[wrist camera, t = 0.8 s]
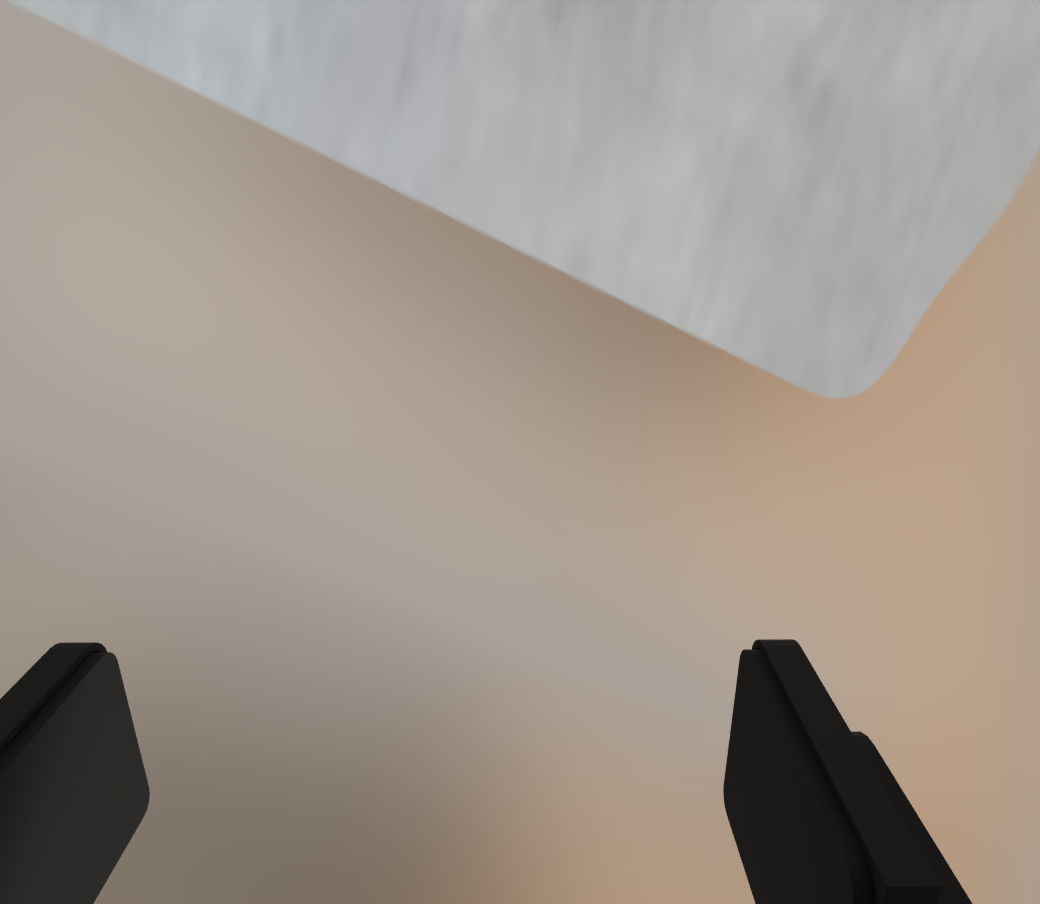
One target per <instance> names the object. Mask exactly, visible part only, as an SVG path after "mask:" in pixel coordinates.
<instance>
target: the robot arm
mask: <svg viewBox="0 0 1040 904" xmlns="http://www.w3.org/2000/svg"><path fill="white" fill-rule="evenodd" d="M149 793H150V792H149V786H148V782H147V777H146V774H145V769H144V765H143V762H142V757H141V753H140V750H139V745H138V741H137V738H136V733H135V729H134V725H133V721H132V717H131V713H130V709H129V705H128V701H127V697H126V693H125V689H124V685H123V681H122V677H121V673H120V669H119V664H118V661H117V658H116V656H115V655H114V654H113V653H110V652H107V651H106V648H105V647H104V646H103V645H102V644H100V643H59V644H55V645H54V646H53V647H51V648H50V649H49V650H48V651H47V652H46V653H45V654H44V655H43V656H42V657H41V658H40V659H39V660H38V661H37V662H36V663H35V664H34V665H33V666H32V668H30V670H28V671H27V673H26V674H25V675H24V676H23V677H22V678H21V679H20V680H19V681H18V682H17V683H16V684H15V685H14V686H13V687H12V688H11V689H10V690H9V691H8V692H7V693H6V694H5V695H4V696H3V697H2V698H1V699H0V904H93V903H94V902H95V900H96V898H97V896H98V895H99V893H100V891H101V890H102V888H103V886H104V884H105V883H106V881H107V879H108V877H109V875H110V874H111V872H112V871H113V869H114V867H115V865H116V864H117V862H118V860H119V859H120V857H121V855H122V853H123V852H124V850H125V848H126V846H127V845H128V843H129V841H130V840H131V838H132V836H133V834H134V833H135V831H136V829H137V828H138V826H139V824H140V822H141V821H142V819H143V817H144V815H145V813H146V810H147V807H148V803H149ZM724 803H725V809H726V813H727V816H728V820H729V822H730V826H731V829H732V832H733V835H734V838H735V841H736V844H737V847H738V851H739V854H740V857H741V860H742V863H743V866H744V869H745V872H746V875H747V878H748V881H749V884H750V888H751V891H752V894H753V897H754V900H755V903H756V904H972V902H971V901H970V899H969V898H968V896H967V895H966V893H965V891H964V890H963V888H962V886H961V885H960V883H959V881H958V880H957V878H956V877H955V875H954V873H953V872H952V870H951V868H950V867H949V865H948V864H947V862H946V860H945V859H944V857H943V856H942V854H941V852H940V851H939V849H938V848H937V846H936V844H935V843H934V841H933V839H932V838H931V836H930V834H929V833H928V831H927V830H926V828H925V826H924V825H923V823H922V822H921V820H920V818H919V817H918V815H917V813H916V812H915V810H914V809H913V807H912V805H911V804H910V802H909V801H908V799H907V797H906V796H905V794H904V792H903V791H902V789H901V788H900V786H899V784H898V783H897V781H896V779H895V778H894V776H893V775H892V773H891V771H890V770H889V768H888V766H887V765H886V763H885V762H884V760H883V758H882V757H881V755H880V754H879V752H878V750H877V749H876V747H875V746H874V744H873V743H872V742H871V740H870V739H869V738H868V736H866V735H865V734H863V733H862V732H851V731H850V730H849V728H848V726H847V724H846V723H845V721H844V719H843V718H842V716H841V714H840V713H839V711H838V709H837V708H836V706H835V704H834V702H833V701H832V699H831V697H830V696H829V694H828V692H827V691H826V689H825V687H824V686H823V684H822V682H821V681H820V679H819V677H818V675H817V674H816V672H815V670H814V669H813V667H812V665H811V663H810V662H809V660H808V658H807V657H806V655H805V653H804V652H803V650H802V648H801V647H800V645H799V644H798V642H797V641H795V640H756V641H755V642H754V644H753V646H752V650H743V651H742V653H741V655H740V661H739V668H738V676H737V684H736V693H735V700H734V708H733V716H732V724H731V732H730V740H729V748H728V756H727V763H726V772H725V780H724Z"/></svg>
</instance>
